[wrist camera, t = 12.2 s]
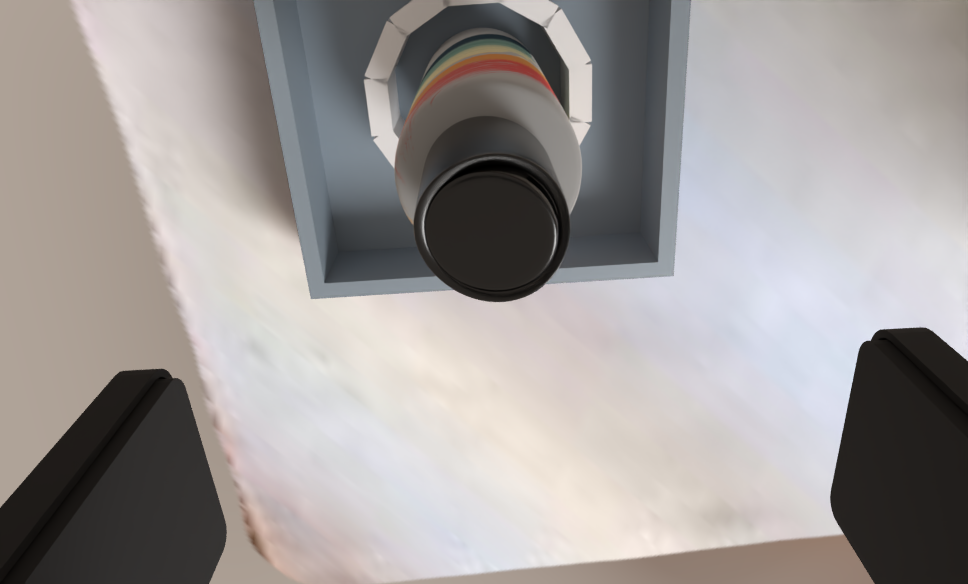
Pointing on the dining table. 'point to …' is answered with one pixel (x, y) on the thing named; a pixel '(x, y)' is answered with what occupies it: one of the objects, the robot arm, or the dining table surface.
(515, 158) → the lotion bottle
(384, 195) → the socket box
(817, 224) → the dining table surface
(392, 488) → the dining table surface
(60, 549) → the robot arm
